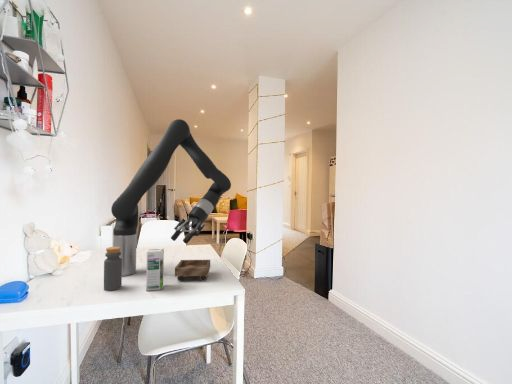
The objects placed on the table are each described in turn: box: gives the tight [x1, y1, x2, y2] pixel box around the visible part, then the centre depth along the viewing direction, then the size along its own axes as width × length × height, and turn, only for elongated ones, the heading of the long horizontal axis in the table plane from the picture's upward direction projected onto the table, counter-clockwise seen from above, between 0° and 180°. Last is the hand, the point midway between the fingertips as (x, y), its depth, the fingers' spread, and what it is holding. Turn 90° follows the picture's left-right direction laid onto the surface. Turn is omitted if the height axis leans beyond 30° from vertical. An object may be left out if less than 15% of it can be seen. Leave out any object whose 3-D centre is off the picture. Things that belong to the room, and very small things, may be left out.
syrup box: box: [145, 247, 165, 292], centre depth 97 cm, size 6×6×14 cm
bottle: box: [103, 246, 123, 292], centre depth 97 cm, size 6×6×15 cm
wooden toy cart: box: [174, 259, 211, 282], centre depth 110 cm, size 13×13×6 cm
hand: (178, 240), depth 105 cm, fingers open, 8 cm apart
